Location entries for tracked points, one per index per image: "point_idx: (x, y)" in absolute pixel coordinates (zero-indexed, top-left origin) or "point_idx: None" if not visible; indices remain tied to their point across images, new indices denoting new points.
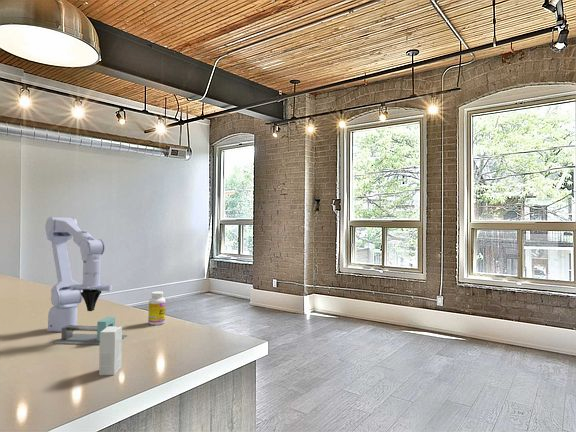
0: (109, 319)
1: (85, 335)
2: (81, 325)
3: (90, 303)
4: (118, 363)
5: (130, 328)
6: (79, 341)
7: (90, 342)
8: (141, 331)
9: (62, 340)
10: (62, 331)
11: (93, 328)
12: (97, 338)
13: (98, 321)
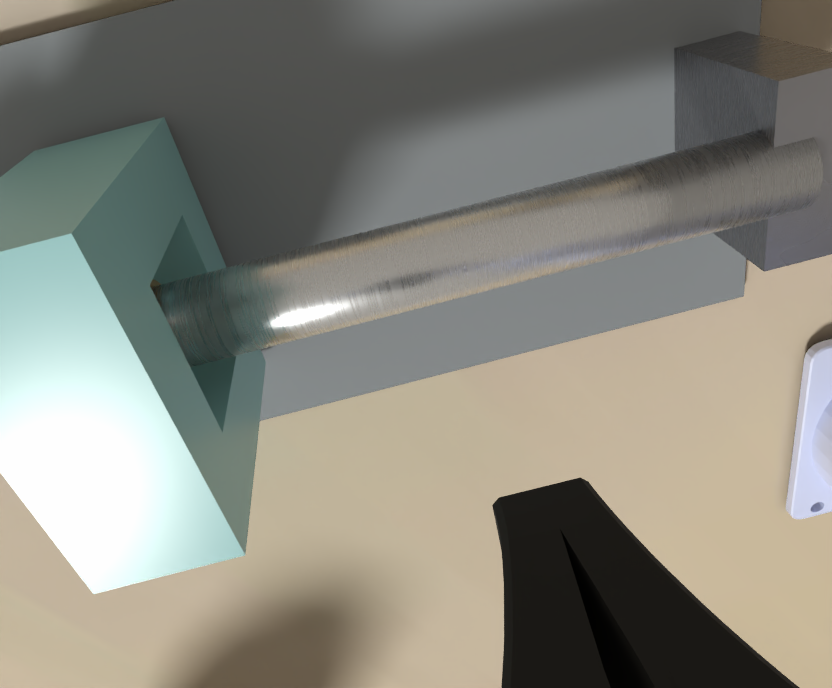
0: (2, 449)
1: (545, 296)
2: (795, 515)
3: (547, 667)
4: None
5: (283, 628)
6: (434, 50)
7: (239, 63)
8: (87, 608)
9: (707, 8)
10: (803, 52)
11: (316, 256)
12: (148, 129)
13: (54, 246)
